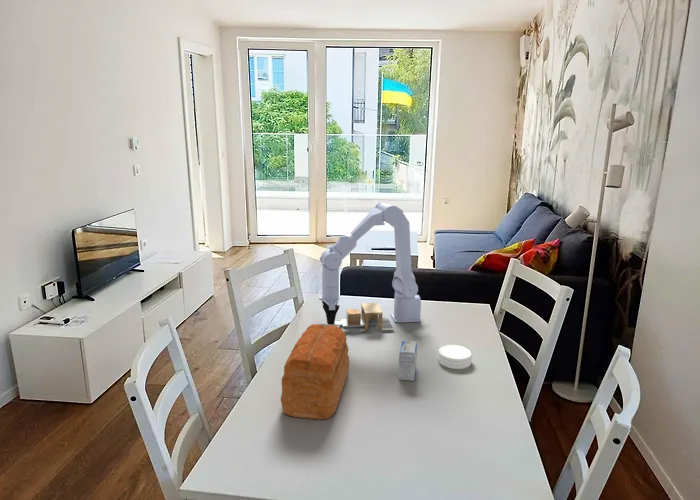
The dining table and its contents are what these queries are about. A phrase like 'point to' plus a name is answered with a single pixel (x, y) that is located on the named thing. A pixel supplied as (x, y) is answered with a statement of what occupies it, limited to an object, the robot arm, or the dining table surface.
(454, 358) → the coaster
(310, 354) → the bread
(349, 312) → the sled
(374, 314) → the track
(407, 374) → the medicine box
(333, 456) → the dining table surface
